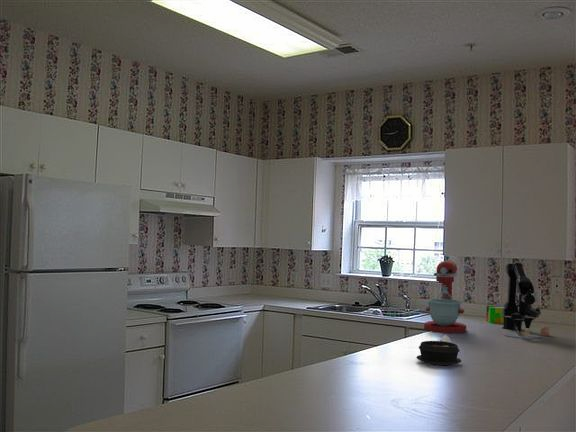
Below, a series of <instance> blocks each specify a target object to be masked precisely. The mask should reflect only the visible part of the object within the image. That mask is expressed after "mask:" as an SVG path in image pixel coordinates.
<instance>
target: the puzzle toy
mask: <svg viewBox="0 0 576 432" xmlns="http://www.w3.org/2000/svg"><path fill="white" fill-rule="evenodd" d="M503 308H504V306H502V305H501V306H497V305H486V315H485V316H486V318H485V319H486V322H488V323H490V324H501V325H502V324H503V325H504V318H502V311H503ZM505 317H507V316H505Z"/></svg>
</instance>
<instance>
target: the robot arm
mask: <svg viewBox="0 0 576 432" xmlns="http://www.w3.org/2000/svg"><path fill="white" fill-rule="evenodd" d="M505 272H506V275H507V277H508V287H507V300H506V302H505V303H504V305H503V307H504V308H503V311H502V318H504V324H503V326H502V329H505V330H506V329H507V330H517V329H518V331H519V332H521V328H523V327H522V325H523V322H524V326H525V327H524V328H528V329H531V324H532V322H533V321H534V320H535V319H536V318H539V316H540V315H542V314H541V313H542V311H541V308H538V307H537V308H533V307H532V305H533V304H535V302H536V298H535V296H534V295H533V294H534V293H535V288H534V285H533V282H532V281H531V280H530V278H528V277H527V276H526V274H525V270H524V268H523V263H521V262H513V263H507V264H506V265H505ZM517 291H518V304H517V303H516V299H517ZM505 316H506V317H505Z"/></svg>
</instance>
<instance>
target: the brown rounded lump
mask: <svg viewBox="0 0 576 432" xmlns="http://www.w3.org/2000/svg"><path fill="white" fill-rule="evenodd" d="M539 336H543V337H550V326H547V325H546V326H545V325H541V326H540V333H539Z"/></svg>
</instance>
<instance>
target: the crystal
mask: <svg viewBox="0 0 576 432" xmlns="http://www.w3.org/2000/svg"><path fill="white" fill-rule="evenodd" d="M439 341H444V342H450V343H453V342H452V341H451V338H450V337H449V336H448V335H447V334H444V335H443V336H442V337H441V338H440V339H439Z"/></svg>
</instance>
